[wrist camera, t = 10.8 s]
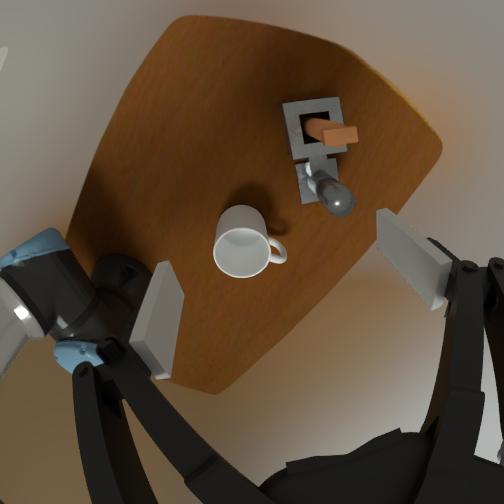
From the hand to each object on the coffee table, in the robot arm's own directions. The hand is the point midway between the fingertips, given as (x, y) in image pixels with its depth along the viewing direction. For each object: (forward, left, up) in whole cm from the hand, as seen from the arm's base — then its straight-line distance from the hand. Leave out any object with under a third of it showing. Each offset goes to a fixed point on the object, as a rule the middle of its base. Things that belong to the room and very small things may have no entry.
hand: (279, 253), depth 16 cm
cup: (-3, -12, -31) cm, 33 cm away
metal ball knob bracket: (+10, 0, -30) cm, 32 cm away
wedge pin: (+10, +4, -30) cm, 32 cm away
